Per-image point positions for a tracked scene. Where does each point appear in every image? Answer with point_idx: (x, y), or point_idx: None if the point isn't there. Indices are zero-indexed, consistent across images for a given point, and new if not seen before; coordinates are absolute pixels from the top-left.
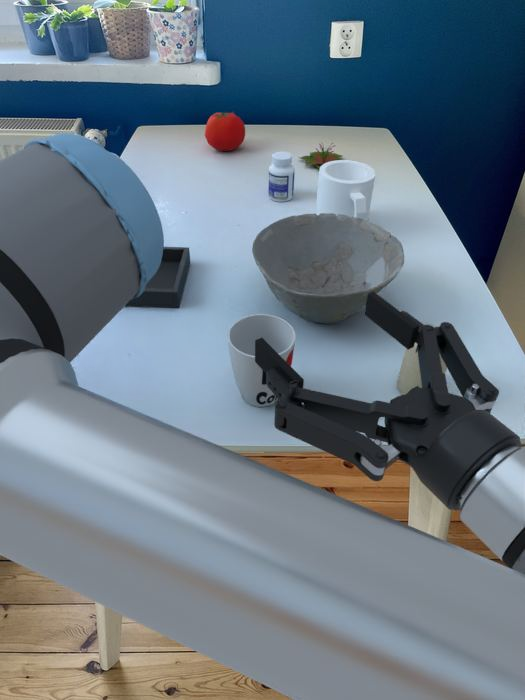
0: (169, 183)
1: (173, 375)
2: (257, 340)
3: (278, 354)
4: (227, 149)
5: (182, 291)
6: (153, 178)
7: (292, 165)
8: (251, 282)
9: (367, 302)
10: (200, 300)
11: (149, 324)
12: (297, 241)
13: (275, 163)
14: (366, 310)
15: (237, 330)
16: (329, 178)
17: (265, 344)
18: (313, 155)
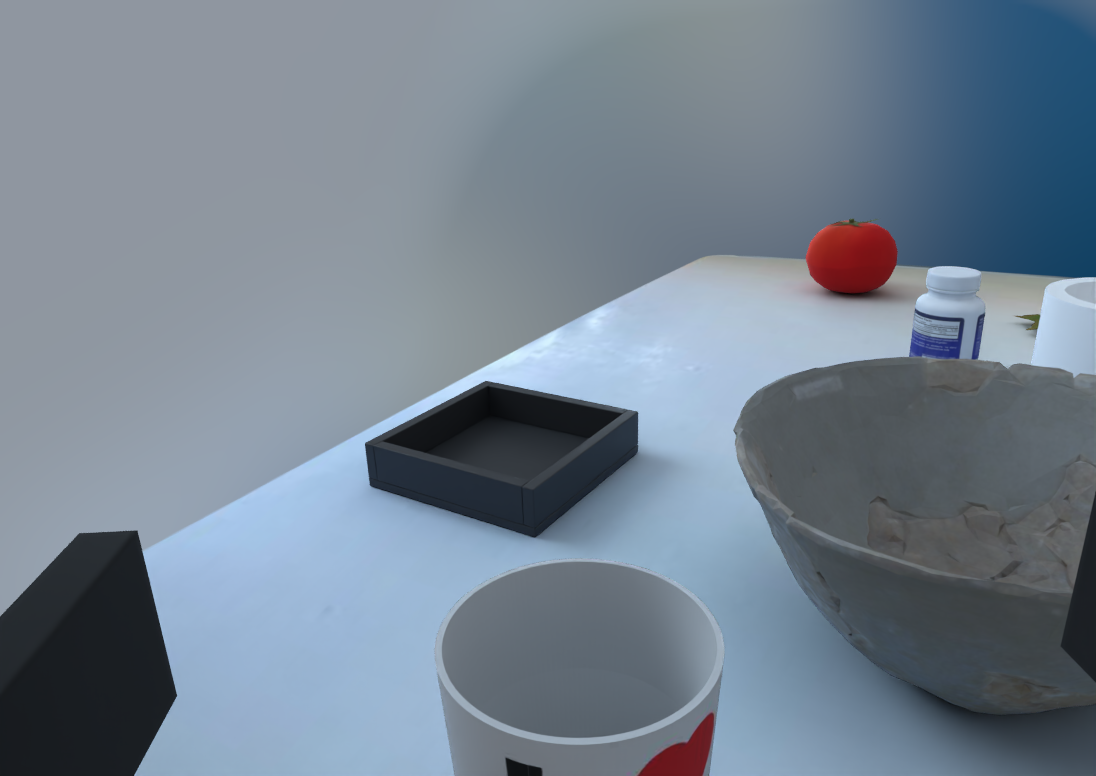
0: (696, 323)
1: (373, 706)
2: (83, 538)
3: (20, 671)
4: (848, 289)
5: (569, 501)
6: (671, 314)
7: (980, 299)
8: (765, 525)
9: (1090, 552)
10: (601, 533)
11: (437, 554)
12: (924, 431)
13: (932, 286)
14: (1079, 615)
15: (532, 601)
16: (1073, 302)
17: (75, 573)
18: None
